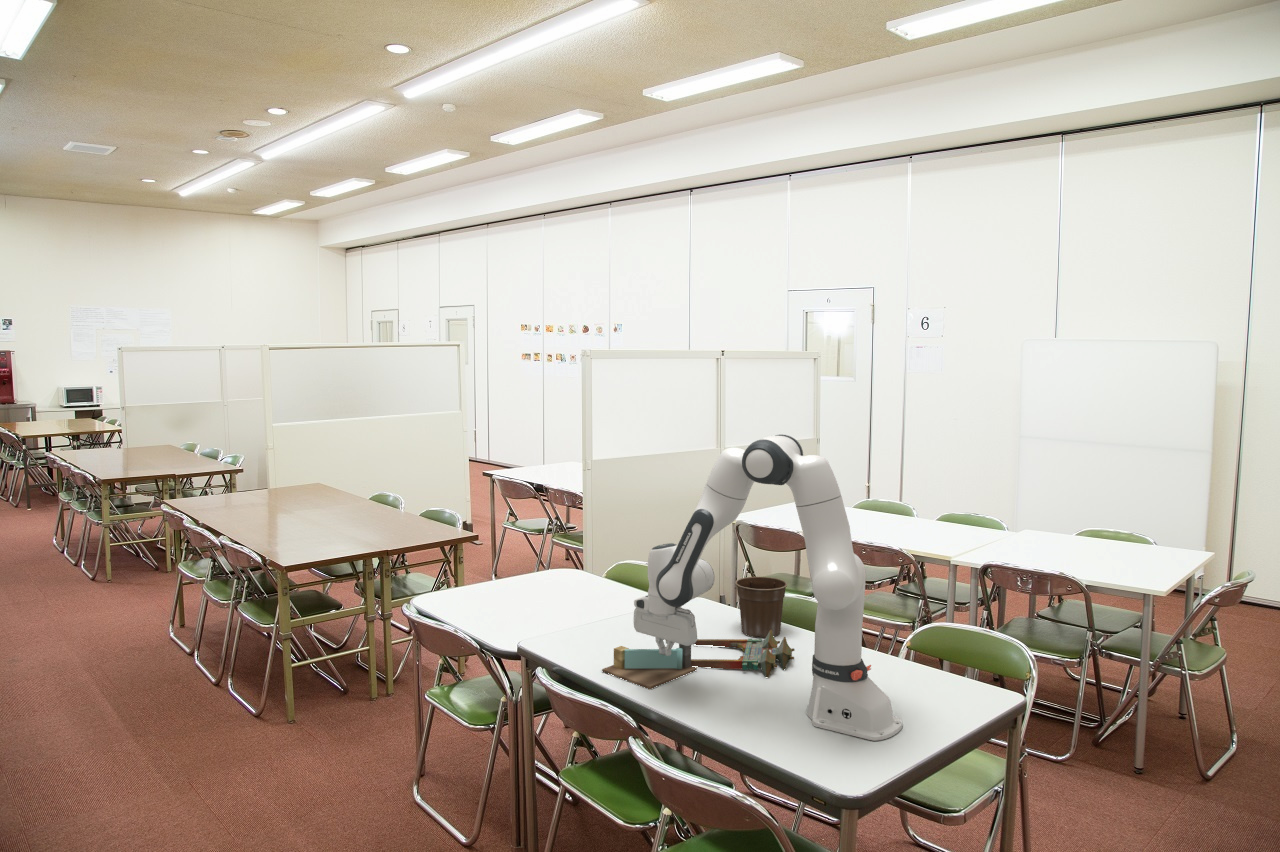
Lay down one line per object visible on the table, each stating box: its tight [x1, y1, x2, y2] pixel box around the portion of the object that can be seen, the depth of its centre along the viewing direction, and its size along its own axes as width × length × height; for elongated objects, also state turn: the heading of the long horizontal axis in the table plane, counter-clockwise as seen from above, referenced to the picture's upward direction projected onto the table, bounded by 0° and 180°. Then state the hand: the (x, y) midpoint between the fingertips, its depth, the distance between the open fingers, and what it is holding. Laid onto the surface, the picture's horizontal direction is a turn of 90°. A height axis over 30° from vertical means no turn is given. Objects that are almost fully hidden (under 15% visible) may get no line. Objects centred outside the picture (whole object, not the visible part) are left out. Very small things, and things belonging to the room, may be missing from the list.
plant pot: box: [735, 576, 788, 639], centre depth 264 cm, size 16×16×16 cm
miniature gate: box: [691, 630, 795, 677], centre depth 240 cm, size 27×6×30 cm
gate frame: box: [601, 644, 698, 690], centre depth 230 cm, size 18×19×9 cm
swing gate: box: [625, 647, 683, 669], centre depth 229 cm, size 2×16×5 cm, turn 92°
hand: (665, 654), depth 224 cm, fingers closed
